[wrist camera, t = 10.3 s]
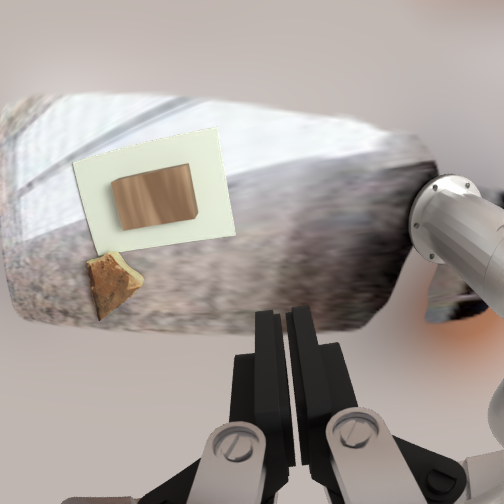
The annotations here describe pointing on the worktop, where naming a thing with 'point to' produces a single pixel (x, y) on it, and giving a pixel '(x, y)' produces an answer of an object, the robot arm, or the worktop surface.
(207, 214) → the sage mat
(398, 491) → the robot arm
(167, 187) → the walnut slab
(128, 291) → the shard
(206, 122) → the worktop surface
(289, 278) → the worktop surface
